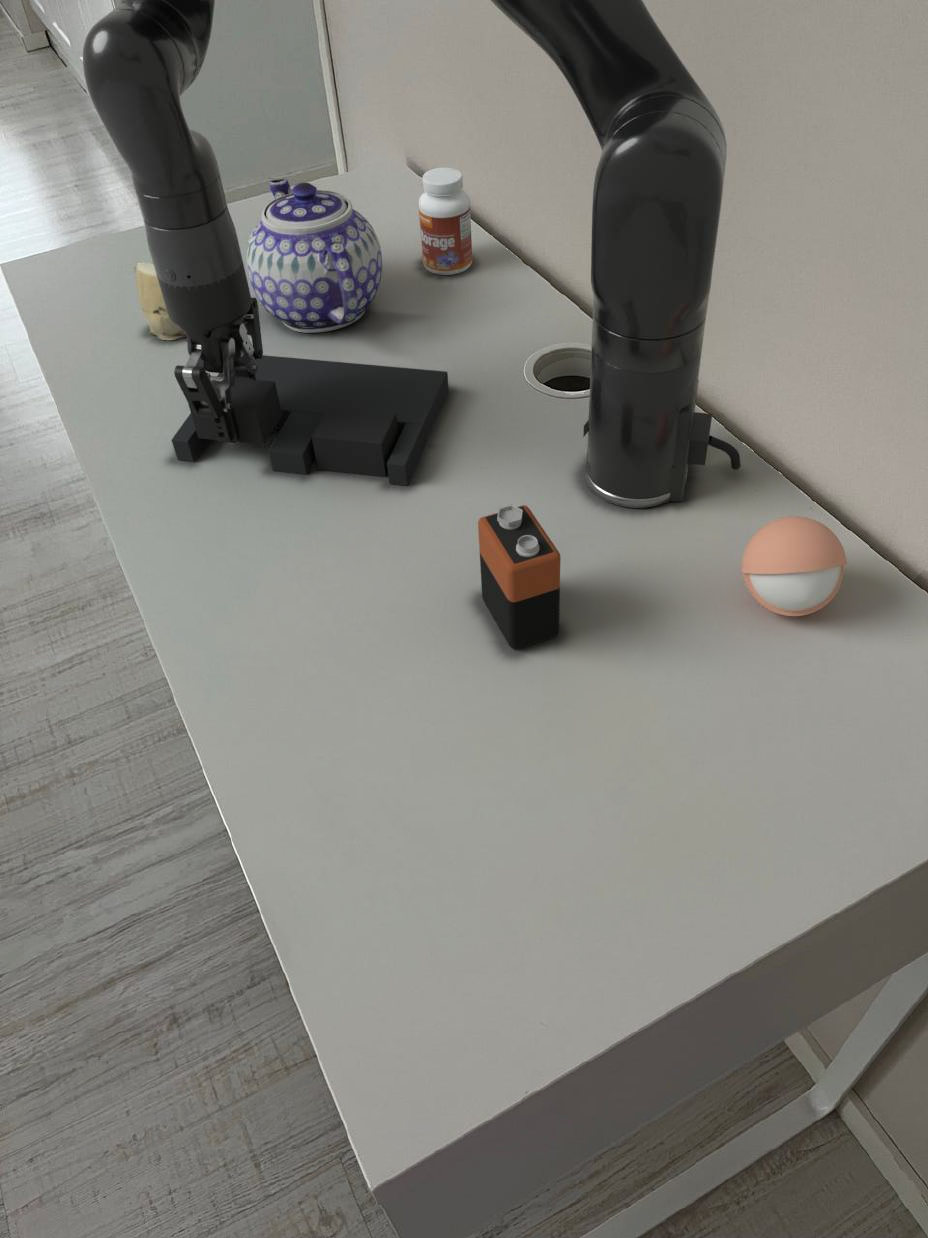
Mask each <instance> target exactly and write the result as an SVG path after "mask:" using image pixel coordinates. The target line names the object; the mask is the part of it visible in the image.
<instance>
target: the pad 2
mask: <svg viewBox="0 0 928 1238" xmlns="http://www.w3.org/2000/svg"><path fill="white" fill-rule="evenodd" d="M398 439H399V432H398V423H397V415H396V413H390V412H380V411H369V410H359V409H349V408H339V407H328V408H327V410H326V412H325V413H324V415H323V417H322V419H321V421H320V422H319V424H318V426H317V428H316V429H315V431H314V433H313V435H312V441H313V446H314V451H315V456H316V459H315V461H316V465H317V466H316V467H317V470H318V471H319V470H320V471H328V472H335V473H336V472H337V473H346V474H354V475H355V474H356V475H363V476H374V477H381V478H382V477H383V478H387V476H388V468H387V462H388V460H389V458H390V456H391V454H392V452H393V450H394V447H395V445H396V443H397V441H398Z"/></svg>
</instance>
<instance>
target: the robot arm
mask: <svg viewBox="0 0 928 1238" xmlns="http://www.w3.org/2000/svg"><path fill="white" fill-rule="evenodd" d="M490 1H491V3H492V4H493V5H494V6H495V7H496V8H497V9H498V10H499V11H500V12H501V13H502V14H503V15H505V16H506V17H507V19H509V21H511V22H512V23H513V24H514V25H515V26H516V27H518V29H520V30H521V32H523V33H524V34H525V35H526V36H527V37H529V38H530V39H531V41H533V42H534V43H535V44H536V45H537V46H538V47H539V48H540V49H541V50H542V51H543V52H544V53H545V54H546V55H547V56H548V57H549V58H550V60H551V61H552V62H553V63H554V65H556V67H557V68H558V69H559V71H560V72H561V74H562V75H563V77H564V78H565V80H566V81H567V83H568V85H569V87H570V88H571V90H572V92H573V94H574V95H575V97H576V99H577V101H578V102H579V104H580V106H581V108H582V110H583V112H584V115H585V116H586V118H587V120H588V122H589V124H590V126H591V128H592V130H593V132H594V135H595V137H596V139H597V141H598V144H599V146H600V149H601V154H600V157H599V161H598V164H597V167H596V170H595V175H594V182H593V192H592V210H591V247H590V248H591V250H590V251H591V252H590V254H591V257H590V285H591V290H592V295H593V302H592V326H591V327H592V328H591V329H592V330H591V348H590V349H591V352H590V376H589V400H588V401H589V402H588V403H589V404H588V419H587V421H585V424H584V425H583V432H582V433H583V434H582V435H583V436H582V437H583V439H584V438H585V437H586V435H587V452H586V463H585V481H586V484H587V486H588V487H589V489H590V490H591V491H592V493H594V494H595V496H597V497H599V498H600V499H602V500H604V501H606V502H608V503H611V504H613V505H616V506H619V507H626V508H635V509H636V508H637V509H638V508H640V509H641V508H650V507H656V506H660V505H663V504H665V503H669V502H677V503H678V502H679V503H680V502H682V501H683V499H684V494H685V493H684V492H685V486H686V485H687V484H686V483H687V480H688V470H689V469H688V466H689V465H694V466H695V465H697V466H706V462H707V456H708V450H709V449H708V448H709V446H710V447H711V448H715V449H717V450H720V451H722V452H724V453H725V454H727V456H728V457H729V458H730V467H731V469H732V470H734V471H736V470H739V469H741V466H742V465H741V455H740V453H739V450H738V449H737V448H736V447H735V446H734V445H732V444H731V443H729V442H727V441H725V440H723V439H720V438H718V437H715V436H713V435H711V434H710V433H711V428H712V427H711V426H712V418H713V413H707V412H696V404H697V397H698V395H697V394H698V390H699V389H698V388H699V375H700V367H701V359H702V352H703V343H704V336H705V327H706V320H707V313H708V307H709V301H710V300H709V299H710V294H711V288H712V278H713V270H714V262H715V256H716V247H717V239H718V232H719V225H720V217H721V209H722V202H723V192H724V184H725V183H724V182H725V172H726V164H727V147H728V146H727V145H728V144H727V139H726V133H725V128H724V126H723V123H722V121H721V118H720V116H719V114H718V112H717V111H716V109H715V107H714V106H713V105H712V103H711V101H710V100H709V98H708V96H707V95H706V94H705V93H704V91H703V90H702V88H701V87H700V85H699V84H698V83H697V81H696V80H695V78H694V77H693V76H692V74H691V73H690V71H689V70H688V69H687V67H686V66H685V64H684V62H683V61H682V60H681V59H680V57H679V56H678V54H677V52H676V51H675V49H674V48H673V46H672V44H670V42H669V41H668V39H667V37H666V36H665V35H664V34H663V32H662V30H661V29H660V27H659V26H658V24H657V22H656V21H655V19H654V18H653V16H652V15H651V12H650V11H649V9H648V7H647V5H646V4H645V2H644V0H490ZM215 3H216V0H120V2H119V4H118V5H117V6H116V7H115V8H113V10H111V11H110V12H109V13H107V14H106V15H105V16H103V17H102V18H100V19H99V20H98V21H97V22H96V23H94V25H93V26H92V27H91V28H90V30H89V31H88V33H87V35H86V36H85V39H84V43H83V46H82V47H83V48H82V68H83V76H84V80H85V84H86V88H87V92H88V94H89V97H90V100H91V102H92V104H93V106H94V109H95V111H96V112H97V115H98V117H99V119H100V120H101V122H102V124H103V126H104V128H105V130H106V131H107V134H108V135H109V137H110V140H111V141H112V143H113V144H114V147H115V148H116V150H117V152H118V154H119V156H121V159H122V160H123V161H124V163H125V165H126V167H127V169H128V170H129V172H130V176H131V180H132V185H133V188H134V192H135V195H136V199H137V202H138V205H139V209H140V212H141V217H142V218H143V219H142V220H143V224H144V229H145V235H146V241H147V247H148V250H149V254H150V257H151V261H152V263H153V264H154V268H155V271H156V275H157V278H158V282H159V285H160V288H161V292H162V295H163V299H164V302H165V305H166V309H167V312H168V315H169V317H170V319H171V320H172V321H173V322H174V323H175V324H176V325H178V326H179V327H180V328H182V329H183V330H184V331H185V332H186V334H187V337H186V341H187V342H186V343H187V344H186V345H187V353H188V355H189V358H188V360H187V362H186V363H185V365H176V366H175V367H174V377H175V379H176V381H177V384H178V385H179V388H180V391H182V393H183V396H184V398H185V399H186V402H187V403H188V407H189V406H190V408H191V410H192V412H193V414H194V415H195V416H203V417H210V418H211V422H212V425H213V428H214V432H215V436H216V438H217V440H216V441H218V442H220V443H225V444H237V443H239V442H238V440H239V439H240V434H239V430H238V426H237V423H236V419H235V415H234V411H233V408H232V401H231V387H232V386H233V385H234V384H235V378H240V379H251V380H256V377H255V374H256V373H257V369H258V366H257V363H256V359H261V358H262V356H263V355H264V347H263V339H262V331H261V322H260V314H259V313H260V311H259V304H258V298H257V297H252V295H251V289H250V286H249V283H248V278H247V274H246V268H245V265H244V264H245V263H244V260H243V255H242V250H241V245H240V242H239V238H238V234H237V230H236V226H235V224H234V221H233V218H232V216H231V214H230V210H229V207H228V204H227V198H226V193H225V189H224V185H223V181H222V177H221V176H222V175H221V173H220V172H221V171H220V169H219V164H218V160H217V157H216V154H215V152H214V148H213V146H212V144H211V142H210V141H209V140H208V138H207V137H206V136H204V135H203V134H202V133H200V132H198V131H196V130H194V129H190V128H189V126H188V122H187V120H186V117H185V115H184V112H183V108H182V103H181V96H182V95H183V94H184V93H185V92H186V91H187V90H188V89H189V88H190V87H191V85H193V84H194V83H195V81H196V80H197V78H198V76H199V74H200V72H201V70H202V68H203V64H204V62H205V59H206V55H207V52H208V50H209V45H210V40H211V36H212V35H211V34H212V28H213V21H214V13H215ZM249 336H250V338H251V340H250V338H249ZM211 373H214V374H219V373H223V374H224V377H213V376H214V375H211ZM214 388H219V389H220V393H221V399H218V397H217V395H216V392H215V390H214ZM201 401H202V403H201ZM190 408H189V409H190Z"/></svg>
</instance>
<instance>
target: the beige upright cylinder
mask: <svg viewBox="0 0 928 1238" xmlns="http://www.w3.org/2000/svg"><path fill="white" fill-rule="evenodd" d="M133 272H134V274H135V279H136V290H137V296H138V301H139V305H140V308H141V311H142V313H143V317H144V319H145V322H146V324H147V325H148V327H149V334H150V335H152V336H156V337H157V338H158V339H159V340H162V341H174V340H177V339H180V338H187V334H186V332H185V331H184V330H183V329H182V328H180V327H179V326H178V325H176V324H175V323H174V322H173V321H172V320H171V319H170V317H169V315H168V312H167V309H166V305H165V302H164V299H163V295H162V292H161V288H160V285H159V282H158V278H157V275H156V271H155V268H154V264H153V262H147V261H141V262H138V263H136V264H135V265H134V267H133Z"/></svg>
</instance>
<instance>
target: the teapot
mask: <svg viewBox="0 0 928 1238" xmlns="http://www.w3.org/2000/svg"><path fill="white" fill-rule="evenodd" d="M268 184H269V189H270V193H271V194H270V195H271V198H272V201H270V202H269V203H267V204H266V205H265V207H264V208H263V210H262V211H261V221H260V222H259V223H258V224H257V225H255V226H254V228H253V230H252V231H251V233H250V235H249V239H248V242H247V248H246V268H247V269H246V270H247V274H248V279H249V281H250V284H251V288H252V290H253V293H254V295H255V298H256V299H257V301H259V303H260V305H262V307H263V308H264V309H265V310H266V313H268V314H270V315H272V316H273V317H275V318H276V319H278V320H279V321H281V323H282V324H283V325H284V326H285V327H287V328H288V329H290V330H291V331H294V332H298V333H306V334H309V333H314V334H315V333H324V332H330V331H335V330H338V329H342V328H345V327H347V326H349V325H351V324H353V323H355V322H356V321H358V320H360V318H362V316H363V315H364V314H365V311H366V309H367V308H368V306H369V305H370V304H371V303H372V301H373V300H374V298H375V297H376V296H377V294H378V290H379V288H380V286H381V280H382V274H383V256H382V254H383V253H382V248H381V244H380V240H379V238H378V235H377V234H376V232H375V229H374V227H373V226H372V224H371V223H370V221H368V219H367V218H366V217H365V216H363V215H362V214H361V213H360V212H359V211H357V210H355V209H354V208H353V204H352V201H351V199H349V198H348V197H347V196H345V195H344V194H342V193H340V192H337V191H333V190H326V189H325V190H324V189H318V188H317V186H315V185H313V184H312V183H310V182H300V183H297V184H295V185H294V186H293V187H291V186H290V183H289V181H288V179H287V178H280V179H274V180H270V181H269V183H268Z"/></svg>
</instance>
